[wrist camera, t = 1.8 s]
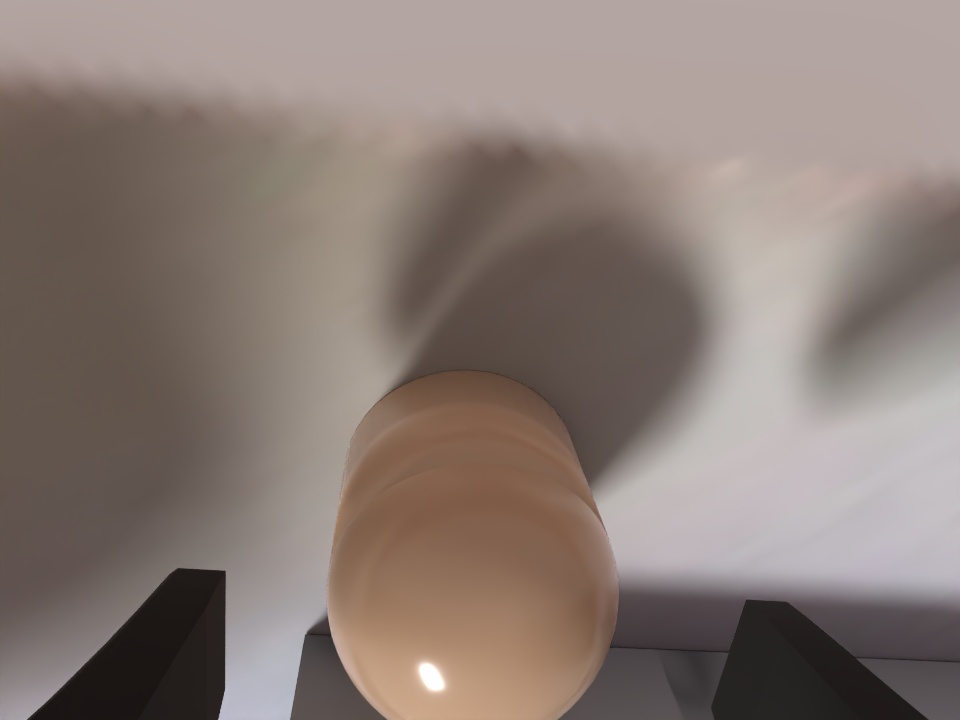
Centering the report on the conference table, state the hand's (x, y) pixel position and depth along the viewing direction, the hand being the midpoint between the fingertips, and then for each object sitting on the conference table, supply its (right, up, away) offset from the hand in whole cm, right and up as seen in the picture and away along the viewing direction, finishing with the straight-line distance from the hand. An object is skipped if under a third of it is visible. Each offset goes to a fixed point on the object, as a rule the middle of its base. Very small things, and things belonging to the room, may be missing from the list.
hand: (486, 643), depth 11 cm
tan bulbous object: (0, +2, +4) cm, 4 cm away
